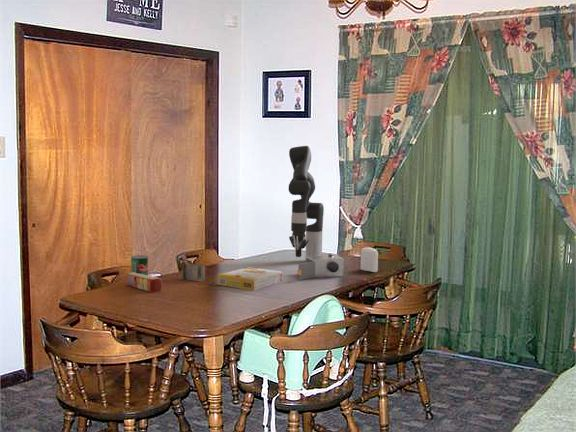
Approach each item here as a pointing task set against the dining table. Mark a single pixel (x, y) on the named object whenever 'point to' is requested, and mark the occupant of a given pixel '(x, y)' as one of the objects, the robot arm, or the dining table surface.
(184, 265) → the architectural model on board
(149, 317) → the dining table surface
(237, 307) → the dining table surface
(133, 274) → the snack package
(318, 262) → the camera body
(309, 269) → the side door
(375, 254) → the photo printer
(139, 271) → the canned tomato
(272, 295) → the dining table surface
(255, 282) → the cereal box
